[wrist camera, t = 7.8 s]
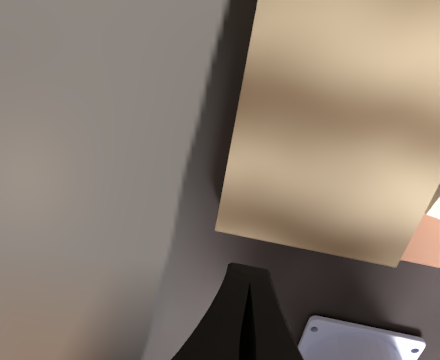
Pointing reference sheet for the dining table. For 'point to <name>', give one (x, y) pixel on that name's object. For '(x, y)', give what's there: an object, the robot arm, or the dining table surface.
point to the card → (434, 205)
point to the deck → (337, 127)
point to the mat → (425, 243)
